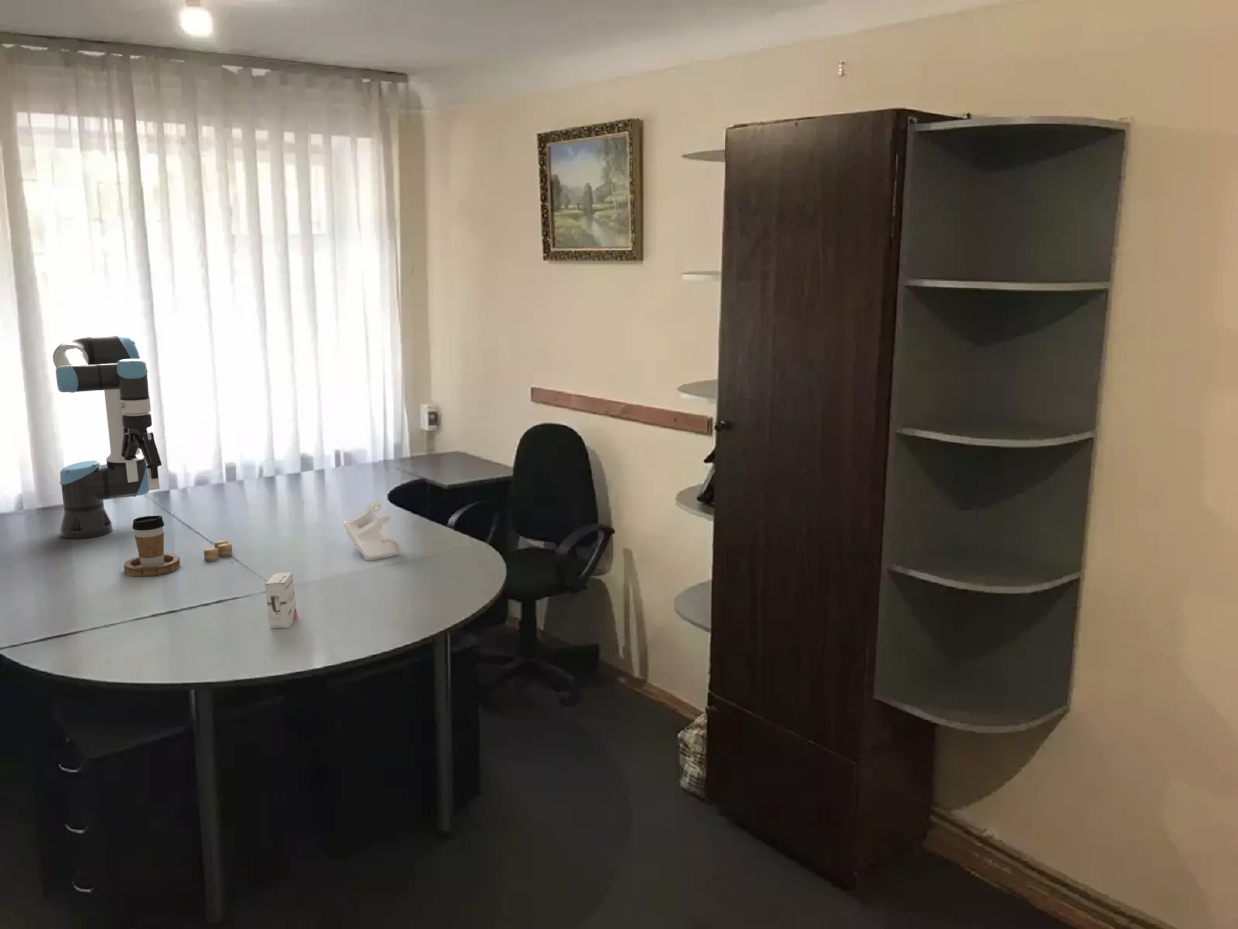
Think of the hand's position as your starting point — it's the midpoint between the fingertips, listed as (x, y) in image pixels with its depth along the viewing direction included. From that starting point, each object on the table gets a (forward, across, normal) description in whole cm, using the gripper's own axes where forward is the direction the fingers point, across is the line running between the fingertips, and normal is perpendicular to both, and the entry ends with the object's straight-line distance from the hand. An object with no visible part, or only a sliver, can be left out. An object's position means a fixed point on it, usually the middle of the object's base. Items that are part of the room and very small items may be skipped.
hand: (143, 485), depth 280 cm
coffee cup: (+24, +2, -1) cm, 24 cm away
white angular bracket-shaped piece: (+25, +37, +52) cm, 68 cm away
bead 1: (+25, +6, +15) cm, 30 cm away
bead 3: (+25, +5, +20) cm, 32 cm away
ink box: (+24, +69, +1) cm, 73 cm away
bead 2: (+25, +1, +21) cm, 33 cm away
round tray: (+25, +2, -1) cm, 25 cm away
